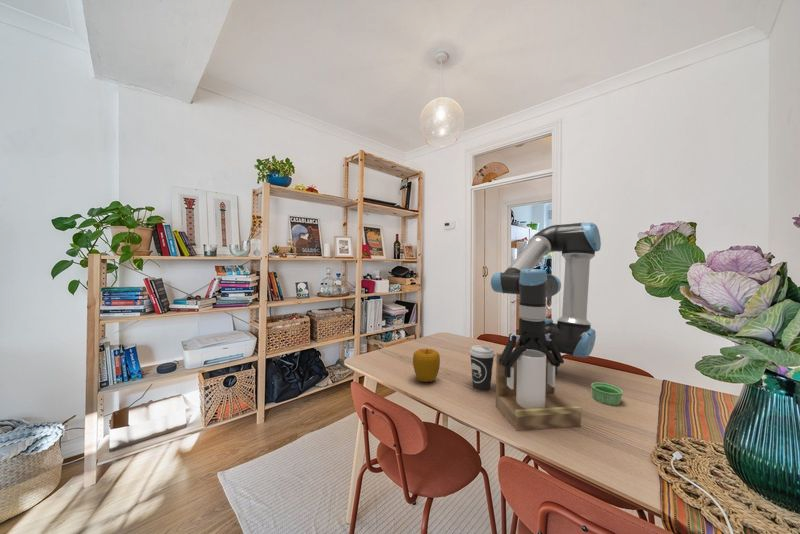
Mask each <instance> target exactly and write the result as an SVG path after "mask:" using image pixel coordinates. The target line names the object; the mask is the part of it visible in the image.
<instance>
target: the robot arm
mask: <svg viewBox="0 0 800 534" xmlns="http://www.w3.org/2000/svg"><path fill="white" fill-rule="evenodd" d="M601 245H602V242H601V234H600V231H599V228H598V226H597V225H596V223H594V222H575V223H574V222H573V223H567V224H565V223H564V224H552V225H549V226H546V227H545V228H543V229H541V230H539V231H538V232H537V233H535V234H534V235H533V236H532V237H530V238H529V240H528V241H527V245H526V247H525V248H524V249H522V251H521V252H520V254H519V255H518V256H517V257H516V258H515V259H514V260H513V261H512V263H511V264H510V265H509V266H508V267H507V268H506V270H505V271H504V272H501V271H499V272H495V273H493V274H492V275H491V278H490V285H491V289H492V290H493V292H495V293H500V294H506V295H507V294H508V295H509V294H510V295H519V299H518V300H519V305H518V306H519V307H518V312H519V313H518V317H519V318H518V331H519V332H518V334H513V333H509V334H508V340H507V343H506V344H505V346H504V348H503V351H502V352H501V353H502V355H501V357H500V359H499V363H500V364H501V365H503V366H505V376H506V377H507V386H508V387H509V388H510V389H514V368H513V367H512V365H513V364H514V363H515V362H516V360H517V359H518V358H519V357H520V355H521V354H522V353H523V352H524V351H526V349H529V350H530V349H531V350H537V351H542V352H543V353H545V354H546V358H547V359H548V360H549V361H550V363H551V364H550V363H548V366H547V384H549V385H550V386H552V387H555V388H556V376H558V368H559V367H561V364H564V362H565V361H564V358H563V356H562V355H561V354H565V355H570V356H573V357H578V358H588V357H589V356H590V355H591V353H592V351H593V350H594V349H593V348H594V346H595V344H596V343H595V342H596V339H597V338H596V337H597V335H596V330H595V329H594V328H591V325H592V324H591V322H590V321H589V320H588V317H587V315H588V314H587V313H588V301H589V299H588V297H589V282H590V281H589V280H590V279H589V278H590V264H591V260H592V259H593V258H594V257H596V254H595V253H596V252H599V251H600V250H601ZM553 252H558V253H559V252H560V253H561V256H562V257H563V258H564V260H565V262H564V263H565V266H564V278H563V280H564V281H563V293H562V295H563V296H562V310H561V316H560V317H559V318H558V319H557V322H556V323H555V322H554V321H553V319H552V318H548V317H547V316H546V315H547V298H551V297H553V296H555V295H557V294H558V293H559V292H560V291H561V288H562V284H561V280H560V278H558V276H556V275H554V274H550V273H547V271H546V270H545V269H542V268H541V269H539V268H536V266H537V265H538V264H539V262H540V261H541V259H543V258H544V257H545V256H547V255H548V254H549V253H553ZM517 342H518V343H517ZM549 351H552V354H553V356H554V357H553V356H552V354H551V353H550V352H549Z"/></svg>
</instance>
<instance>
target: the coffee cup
mask: <svg viewBox="0 0 800 534" xmlns="http://www.w3.org/2000/svg"><path fill="white" fill-rule="evenodd" d="M468 354H469V355H470V364H471V365H470V367H471V377H472V378H471V380H472V381H471V382H472V388H473V389H475V390H477V391H481V392H487V391H490V390H491V384H492V375H493V367H494V357H495V356H496V354H495V351H494V349H493V348H492V347H490V346H487V345H482V344H481V345H479V344H477V345H473V346H471V347H470V349H469V351H468Z"/></svg>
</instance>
